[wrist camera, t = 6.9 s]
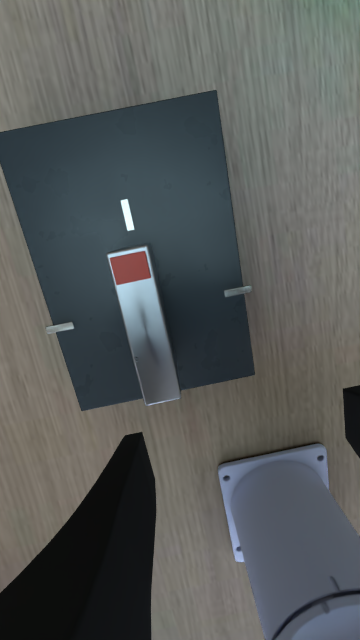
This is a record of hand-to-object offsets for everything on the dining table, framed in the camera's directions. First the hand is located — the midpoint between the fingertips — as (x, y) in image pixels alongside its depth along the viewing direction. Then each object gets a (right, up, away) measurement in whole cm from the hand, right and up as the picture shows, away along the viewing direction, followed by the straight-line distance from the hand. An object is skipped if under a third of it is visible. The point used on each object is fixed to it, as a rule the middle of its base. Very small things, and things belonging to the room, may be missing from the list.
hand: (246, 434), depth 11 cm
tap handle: (-4, +5, +5) cm, 8 cm away
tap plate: (-4, +7, +7) cm, 11 cm away
